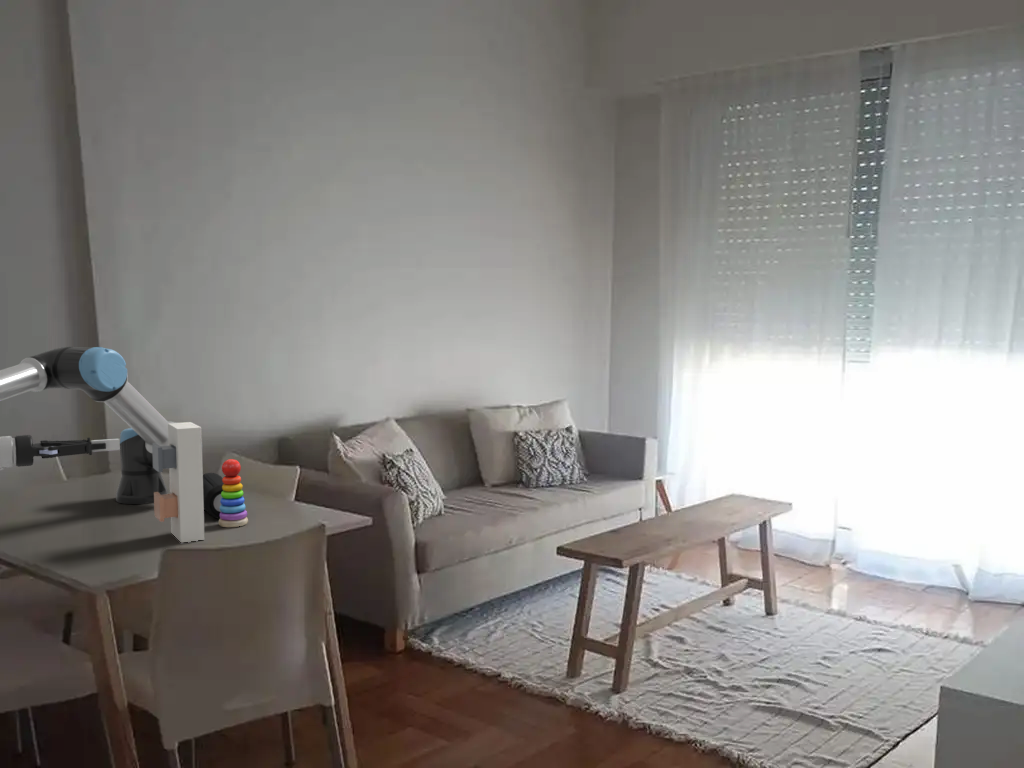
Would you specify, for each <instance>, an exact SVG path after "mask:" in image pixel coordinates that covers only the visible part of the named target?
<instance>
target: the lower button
mask: <svg viewBox="0 0 1024 768" xmlns="http://www.w3.org/2000/svg"><path fill="white" fill-rule="evenodd" d="M153 509H154V510H153V511H154V517H155V518H156V519H157V520H158V521H159V523H162V522H163V523H164V522H165V519H168V518H171V517H178V498H177V495H175V494H174V493H173V494H170V493H168V494H163V495H161V494H160V493H159V492H154V502H153Z"/></svg>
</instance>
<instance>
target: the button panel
mask: <svg viewBox="0 0 1024 768" xmlns="http://www.w3.org/2000/svg"><path fill="white" fill-rule="evenodd" d="M202 430H203V429H202V426H200V425H198V424H196V423H194V422H192V421H186V422H183V421H182V422H175V423H168V446H169V445H174V446H175V447H176V464H177V468H169V469H168V471H169V472H168V473H169V479H168V481H169V494H173V493H174V494H175V495H177V498H178V517H170V533H172V534H173V535H174V536H175V537H176V538H177V539H178V540H179V541H180V542H188V543H192V542H191V541H196V542H199V541H198V540H204V541H205V511H204V510H205V509H204V501H203V475H204V472H203V471H204V470H203V469H204V467H203V466H204V465H203V435H202V432H203V431H202ZM172 534H171V535H172ZM173 535H172V536H173ZM174 536H173V537H174ZM175 537H174V538H175ZM176 538H175V539H176ZM177 539H176V540H177ZM178 540H177V541H178ZM179 541H178V542H179ZM180 542H179V543H180Z"/></svg>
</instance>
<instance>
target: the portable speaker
mask: <svg viewBox="0 0 1024 768" xmlns="http://www.w3.org/2000/svg"><path fill="white" fill-rule="evenodd" d="M222 479H223V477H222V476H221V475H220V474H217V473H214V472H207V473H203V501H204V510H205V511H206V513H208V514H209V515H210V516H211V517H213V518H214V519H218V520H219V519H220V513H221V511H220V506H221V505H222V504H221V502H220V500H221V498H222V496H221V492H222V491H224V490H223V489H222V486H223V484H224V483H223V481H222Z"/></svg>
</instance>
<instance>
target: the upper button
mask: <svg viewBox="0 0 1024 768" xmlns="http://www.w3.org/2000/svg"><path fill="white" fill-rule="evenodd" d="M152 453H153V468H154V469H155V470H156V471H158V472H161V473H163V471H164V470H165V469H166V468H177V464H176V447H175V446H174V445H169V446H159V445H158V444H156V443H155V444H152ZM163 469H164V470H163Z"/></svg>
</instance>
